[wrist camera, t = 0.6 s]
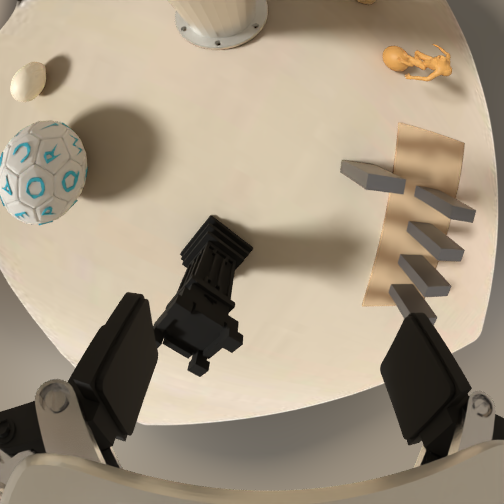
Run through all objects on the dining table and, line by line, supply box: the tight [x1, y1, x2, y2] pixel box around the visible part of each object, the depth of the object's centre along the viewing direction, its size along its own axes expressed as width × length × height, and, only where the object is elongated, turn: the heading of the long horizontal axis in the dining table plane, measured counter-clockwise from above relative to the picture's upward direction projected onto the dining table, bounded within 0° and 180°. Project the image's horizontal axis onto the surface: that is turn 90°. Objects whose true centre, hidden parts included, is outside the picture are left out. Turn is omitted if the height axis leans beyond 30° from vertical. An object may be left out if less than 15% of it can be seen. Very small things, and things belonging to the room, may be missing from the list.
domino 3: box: [406, 221, 465, 261], centre depth 34 cm, size 2×5×10 cm, turn 88°
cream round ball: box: [11, 62, 46, 102], centre depth 25 cm, size 7×7×7 cm
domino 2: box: [414, 185, 476, 223], centre depth 32 cm, size 2×5×10 cm, turn 88°
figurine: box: [383, 44, 452, 81], centre depth 23 cm, size 8×6×12 cm
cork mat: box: [362, 123, 464, 306], centre depth 39 cm, size 32×14×1 cm, turn 178°
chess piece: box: [153, 215, 253, 377], centre depth 33 cm, size 8×8×20 cm
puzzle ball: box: [0, 121, 88, 225], centre depth 28 cm, size 15×15×15 cm
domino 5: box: [388, 284, 437, 325], centre depth 40 cm, size 2×5×10 cm, turn 88°
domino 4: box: [398, 254, 451, 297], centre depth 37 cm, size 2×5×10 cm, turn 88°
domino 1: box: [340, 160, 406, 195], centre depth 31 cm, size 2×5×10 cm, turn 88°
